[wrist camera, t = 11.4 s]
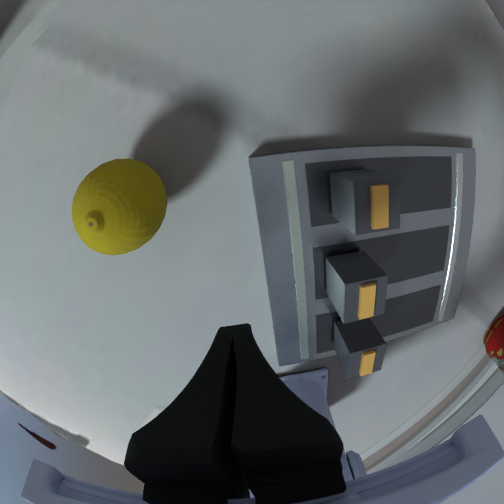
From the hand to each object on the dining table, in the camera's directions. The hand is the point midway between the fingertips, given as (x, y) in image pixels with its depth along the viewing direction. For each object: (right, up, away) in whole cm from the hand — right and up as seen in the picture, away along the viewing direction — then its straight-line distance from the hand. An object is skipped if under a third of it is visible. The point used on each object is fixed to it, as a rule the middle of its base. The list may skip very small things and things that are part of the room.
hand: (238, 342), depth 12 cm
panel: (+12, +4, +10) cm, 16 cm away
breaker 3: (+9, -3, +10) cm, 14 cm away
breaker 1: (+7, +8, +6) cm, 12 cm away
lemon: (-7, +8, +7) cm, 13 cm away
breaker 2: (+8, +2, +8) cm, 11 cm away
